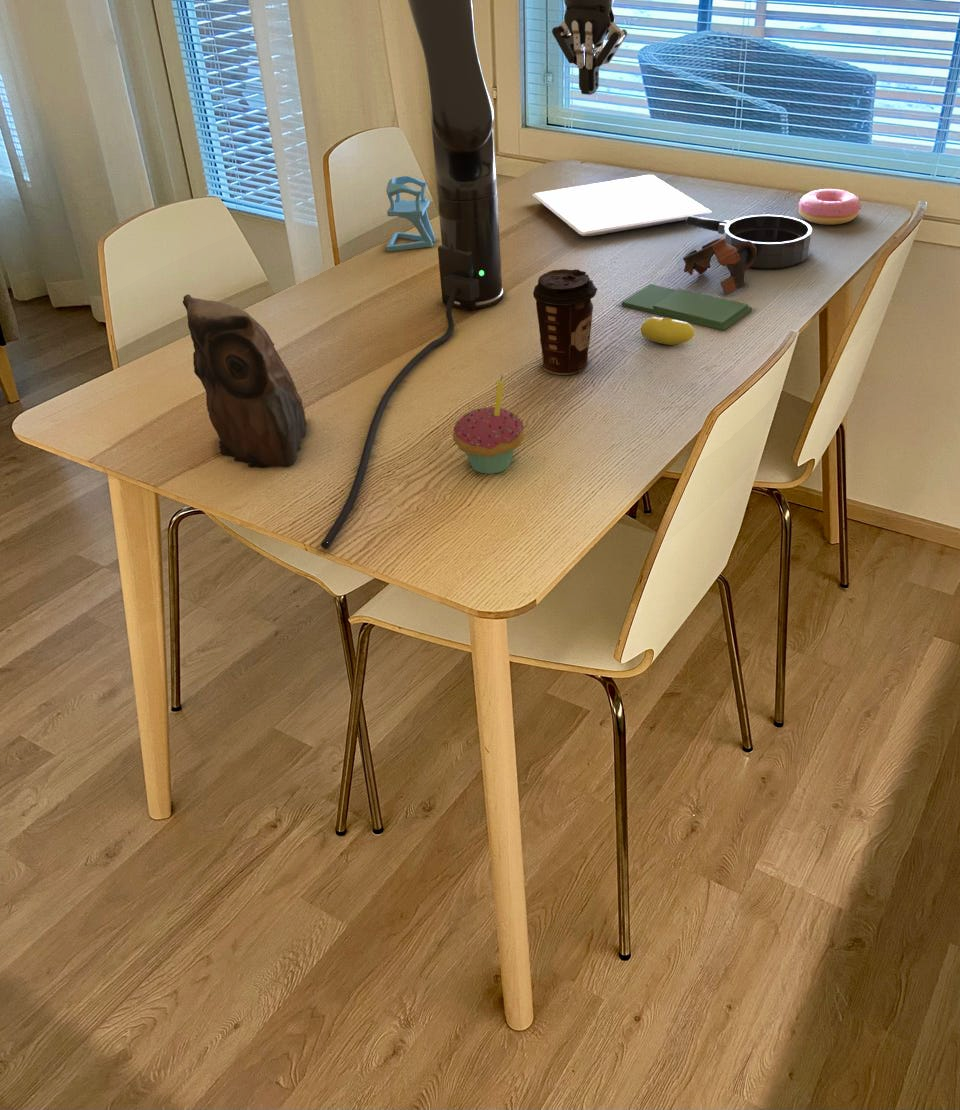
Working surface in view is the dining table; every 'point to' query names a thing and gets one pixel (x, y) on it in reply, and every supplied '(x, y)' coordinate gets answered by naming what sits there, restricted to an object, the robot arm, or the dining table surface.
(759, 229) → the pan
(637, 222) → the white rectangular board
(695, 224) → the pan handle
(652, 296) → the cloth
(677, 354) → the dining table surface
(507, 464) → the cupcake
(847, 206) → the doughnut
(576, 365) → the coffee cup
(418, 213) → the chair
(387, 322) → the dining table surface
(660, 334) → the lemon
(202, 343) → the owl
